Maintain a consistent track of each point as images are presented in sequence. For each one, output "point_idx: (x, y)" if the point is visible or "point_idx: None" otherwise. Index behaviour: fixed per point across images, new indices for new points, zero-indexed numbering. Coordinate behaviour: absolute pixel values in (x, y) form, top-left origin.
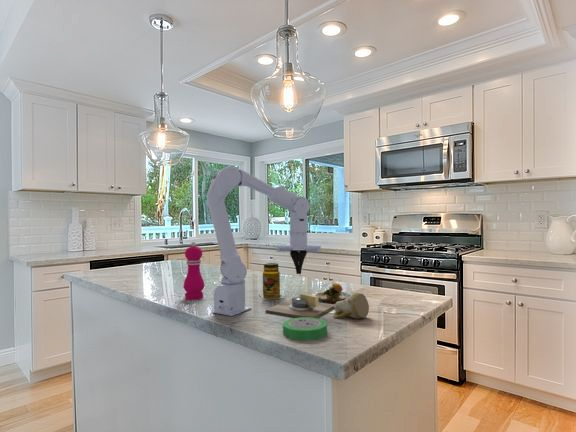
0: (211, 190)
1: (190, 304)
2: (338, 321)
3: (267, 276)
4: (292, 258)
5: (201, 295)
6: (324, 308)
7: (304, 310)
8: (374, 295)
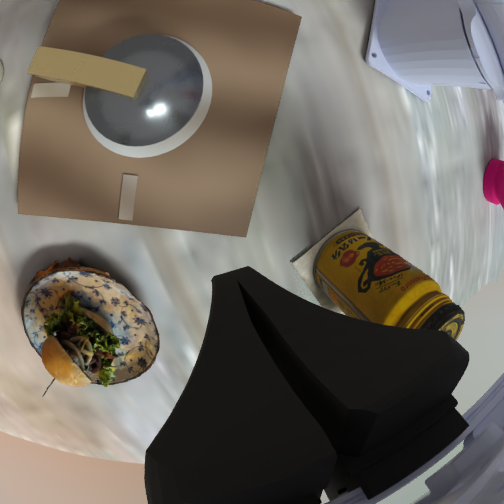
0: None
1: (486, 116)
2: None
3: (417, 273)
4: (385, 325)
5: (490, 178)
6: (37, 125)
7: None
8: (25, 398)
